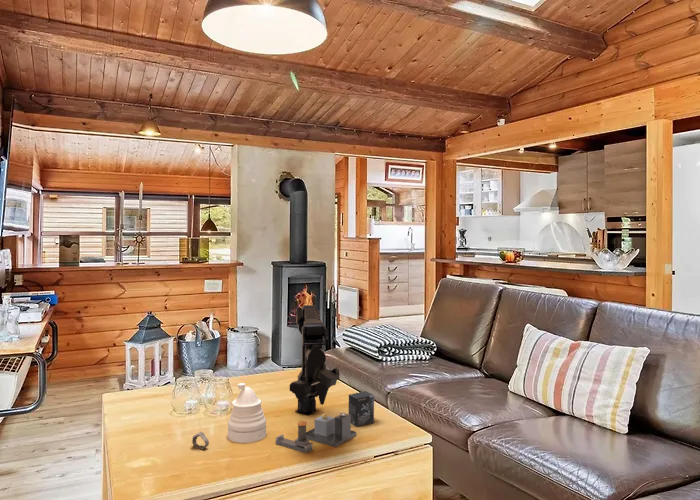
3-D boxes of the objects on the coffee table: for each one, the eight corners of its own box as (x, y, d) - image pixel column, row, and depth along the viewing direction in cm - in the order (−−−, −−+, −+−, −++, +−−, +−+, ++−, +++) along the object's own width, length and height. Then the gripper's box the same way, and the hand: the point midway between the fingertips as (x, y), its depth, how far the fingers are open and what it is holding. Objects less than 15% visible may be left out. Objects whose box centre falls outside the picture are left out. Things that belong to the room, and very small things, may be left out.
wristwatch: (197, 444, 169) (197, 429, 169) (211, 448, 166) (211, 432, 166) (189, 448, 166) (189, 432, 166) (203, 452, 163) (202, 436, 163)
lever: (294, 444, 165) (294, 422, 164) (300, 441, 167) (300, 419, 167) (304, 447, 162) (304, 425, 162) (310, 444, 165) (310, 422, 165)
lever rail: (275, 443, 169) (275, 437, 169) (281, 440, 172) (281, 434, 172) (306, 453, 162) (306, 446, 162) (312, 449, 164) (312, 443, 164)
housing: (314, 432, 176) (314, 414, 176) (323, 427, 180) (323, 410, 180) (326, 435, 173) (326, 417, 173) (334, 430, 177) (334, 413, 177)
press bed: (302, 437, 174) (302, 411, 174) (323, 426, 184) (323, 401, 184) (336, 447, 167) (336, 419, 166) (356, 435, 177) (356, 409, 176)
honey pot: (233, 445, 168) (233, 391, 167) (223, 432, 179) (223, 381, 179) (271, 438, 174) (271, 385, 173) (259, 426, 185) (259, 376, 184)
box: (356, 427, 184) (356, 398, 184) (348, 422, 189) (348, 394, 188) (374, 423, 188) (374, 394, 188) (365, 418, 193) (365, 390, 193)
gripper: (316, 369, 157) (316, 420, 157) (349, 358, 173) (349, 404, 173) (288, 365, 163) (288, 414, 163) (322, 354, 179) (322, 399, 179)
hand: (313, 408), depth 169 cm, fingers open, 9 cm apart
